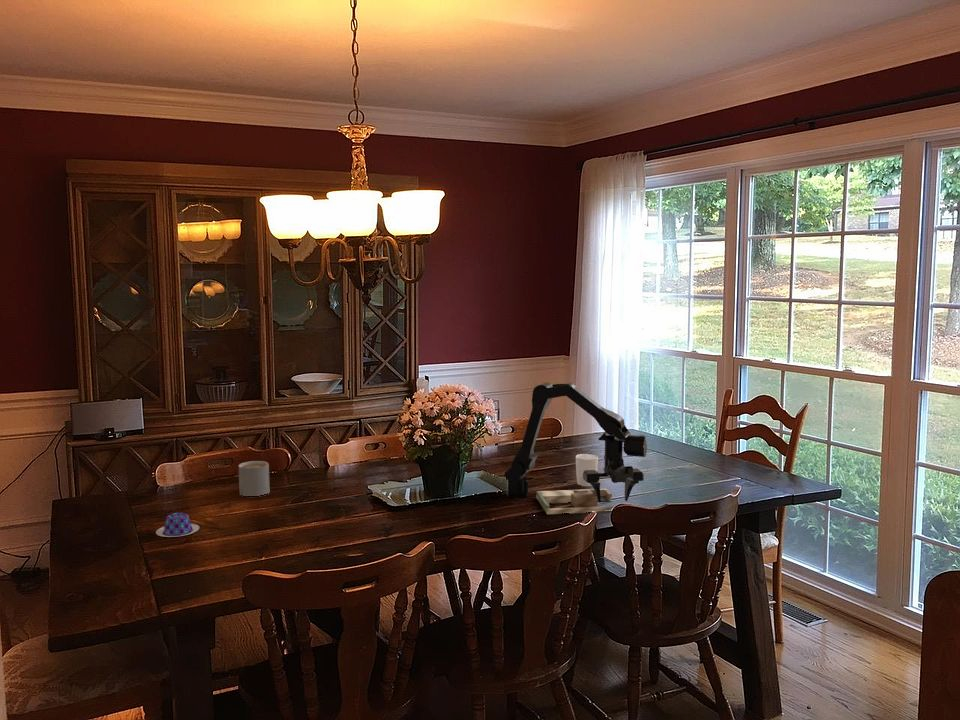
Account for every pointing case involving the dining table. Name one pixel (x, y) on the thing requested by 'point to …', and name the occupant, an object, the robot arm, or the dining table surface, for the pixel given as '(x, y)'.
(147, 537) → the dining table surface
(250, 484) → the coffee mug
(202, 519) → the dining table surface
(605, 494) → the trap lane
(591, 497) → the walnut block
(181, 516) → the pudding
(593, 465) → the white cup
